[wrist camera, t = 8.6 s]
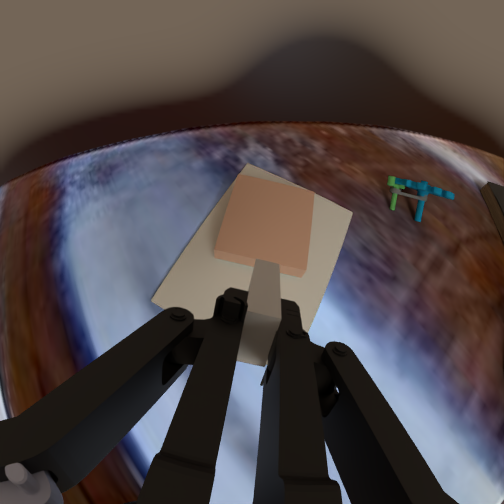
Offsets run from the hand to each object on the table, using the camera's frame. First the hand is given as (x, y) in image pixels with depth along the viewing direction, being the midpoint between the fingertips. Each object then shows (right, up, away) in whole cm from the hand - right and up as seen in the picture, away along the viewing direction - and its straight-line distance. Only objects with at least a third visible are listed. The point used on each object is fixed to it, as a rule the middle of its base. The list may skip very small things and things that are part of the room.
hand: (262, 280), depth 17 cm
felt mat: (+1, +2, +12) cm, 12 cm away
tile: (0, +1, +10) cm, 10 cm away
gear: (+23, +9, +19) cm, 31 cm away
